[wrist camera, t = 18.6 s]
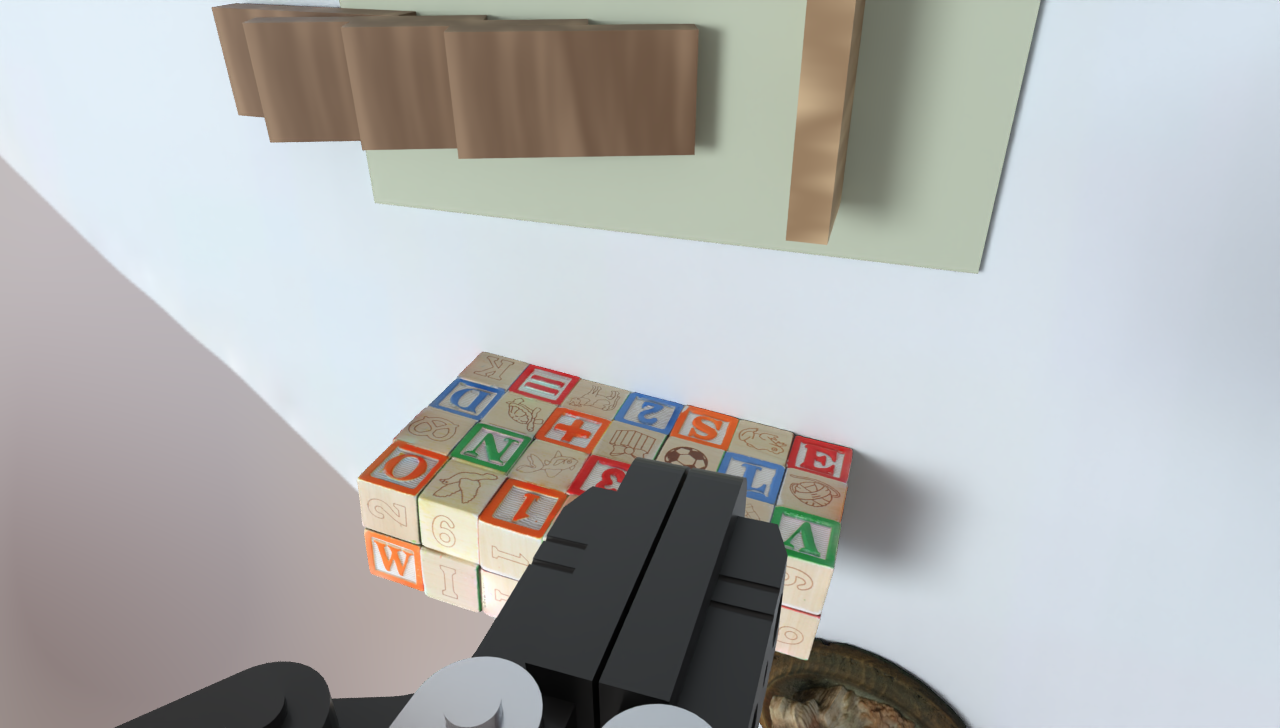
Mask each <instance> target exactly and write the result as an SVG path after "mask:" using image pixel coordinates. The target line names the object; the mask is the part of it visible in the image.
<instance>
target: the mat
mask: <svg viewBox="0 0 1280 728" xmlns="http://www.w3.org/2000/svg"><path fill="white" fill-rule="evenodd" d="M339 2H340V8H353V9H376V10H399V11H416V16H436V15H487V19H488V20H534V19H588V25H609V24H695V25H696V27H697V28H698V29H699V38H698V68H697V97H696V127H695V155H665V156H604V157H544V158H483V159H458V150H457V148H455V149H404V150H366V156H367V161H368V167H369V173H370V178H371V184H372V190H373V195H374V201H375V203H380V204H388V205H397V206H405V207H414V208H422V209H431V210H439V211H448V212H456V213H465V214H473V215H482V216H490V217H499V218H507V219H516V220H524V221H533V222H541V223H550V224H558V225H567V226H575V227H584V228H592V229H601V230H609V231H618V232H626V233H635V234H643V235H652V236H660V237H669V238H677V239H686V240H694V241H703V242H711V243H720V244H728V245H737V246H746V247H754V248H763V249H771V250H780V251H788V252H797V253H805V254H814V255H822V256H831V257H839V258H848V259H856V260H865V261H873V262H882V263H890V264H899V265H907V266H916V267H924V268H933V269H941V270H950V271H958V272H967V273H975V274H978V271H979V267H980V263H981V258H982V254H983V249H984V245H985V241H986V236H987V232H988V228H989V223H990V219H991V215H992V210H993V206H994V202H995V197H996V193H997V189H998V184H999V180H1000V176H1001V171H1002V167H1003V162H1004V158H1005V154H1006V149H1007V145H1008V141H1009V136H1010V132H1011V128H1012V123H1013V119H1014V115H1015V110H1016V106H1017V102H1018V97H1019V93H1020V89H1021V84H1022V80H1023V76H1024V71H1025V67H1026V62H1027V58H1028V54H1029V49H1030V45H1031V41H1032V36H1033V32H1034V28H1035V23H1036V19H1037V15H1038V10H1039V6H1040V2H1041V0H865V9H864V17H863V25H862V33H861V41H860V49H859V57H858V66H857V74H856V82H855V90H854V98H853V106H852V115H851V123H850V131H849V139H848V147H847V155H846V163H845V172H844V180H843V188H842V196H841V203H840V207H839V210H838V213H837V216H836V219H835V222H834V225H833V229H832V232H831V235H830V238H829V241H828V244H827V245H822V244H813V243H804V242H795V241H786V230H787V219H788V208H789V196H790V185H791V174H792V163H793V151H794V140H795V129H796V118H797V106H798V95H799V84H800V73H801V61H802V50H803V39H804V28H805V16H806V5H807V0H339Z"/></svg>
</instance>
